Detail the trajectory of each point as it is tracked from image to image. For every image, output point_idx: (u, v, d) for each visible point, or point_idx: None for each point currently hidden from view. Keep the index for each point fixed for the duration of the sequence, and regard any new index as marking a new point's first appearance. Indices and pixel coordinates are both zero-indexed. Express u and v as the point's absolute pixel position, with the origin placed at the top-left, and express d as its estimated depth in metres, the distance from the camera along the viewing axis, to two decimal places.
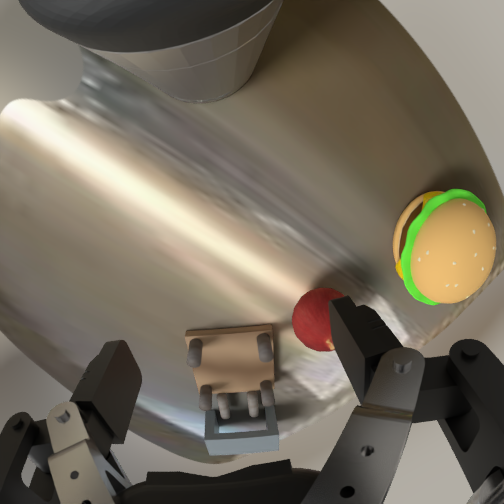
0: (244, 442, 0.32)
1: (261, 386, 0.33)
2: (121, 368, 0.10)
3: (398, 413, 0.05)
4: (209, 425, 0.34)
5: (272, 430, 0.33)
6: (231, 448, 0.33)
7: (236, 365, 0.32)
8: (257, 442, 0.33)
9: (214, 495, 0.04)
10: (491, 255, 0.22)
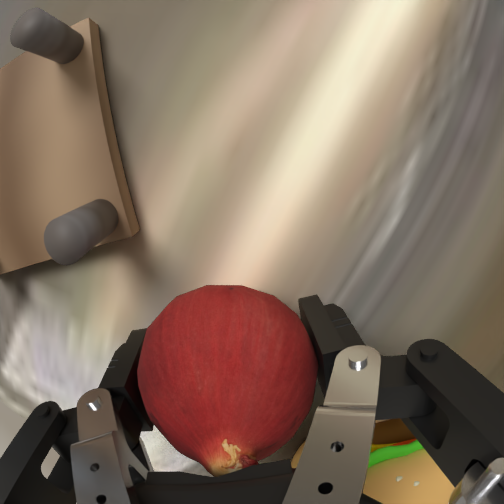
0: None
1: None
2: None
3: (361, 407, 0.05)
4: None
5: None
6: None
7: (16, 168, 0.09)
8: None
9: (214, 495, 0.04)
10: None
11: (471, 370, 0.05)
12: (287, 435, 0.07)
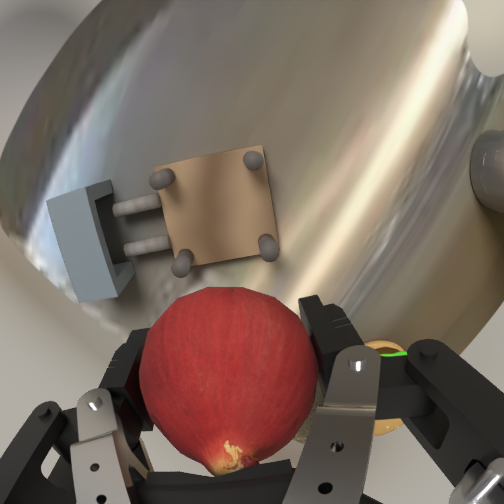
0: (90, 250, 0.22)
1: (187, 252, 0.26)
2: None
3: (361, 408, 0.05)
4: (99, 189, 0.22)
5: (118, 284, 0.23)
6: (71, 231, 0.21)
7: (218, 213, 0.25)
8: (93, 269, 0.22)
9: (214, 495, 0.04)
10: (394, 428, 0.26)
11: (471, 370, 0.05)
12: (288, 436, 0.07)
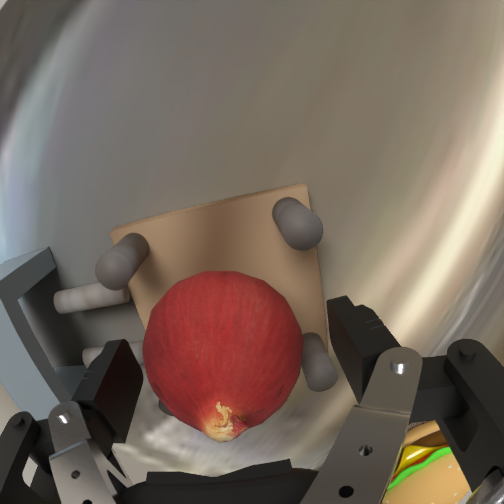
0: (28, 376, 0.11)
1: None
2: (123, 367, 0.10)
3: (396, 412, 0.05)
4: (26, 275, 0.12)
5: None
6: None
7: None
8: (41, 400, 0.11)
9: (214, 495, 0.04)
10: None
11: None
12: (274, 403, 0.09)
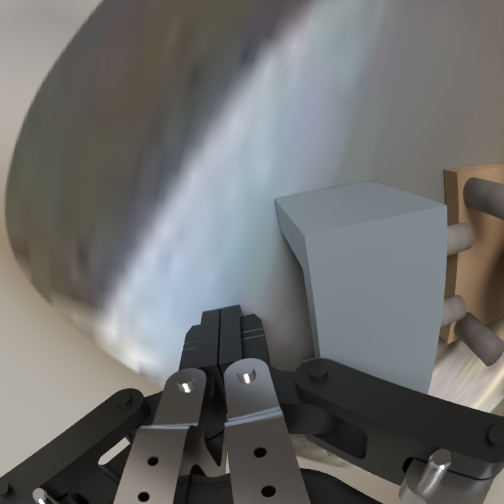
0: (410, 359, 0.08)
1: (477, 319, 0.12)
2: None
3: (267, 413, 0.06)
4: None
5: None
6: (378, 325, 0.08)
7: None
8: None
9: (214, 495, 0.04)
10: None
11: (370, 379, 0.06)
12: None
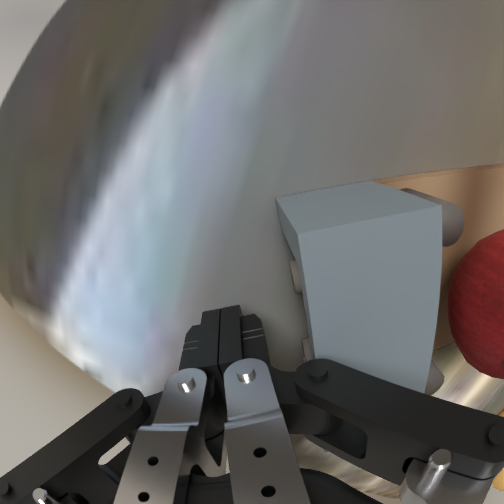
0: (405, 358, 0.08)
1: None
2: None
3: (267, 412, 0.06)
4: None
5: None
6: (372, 323, 0.08)
7: None
8: None
9: (214, 495, 0.04)
10: None
11: (370, 378, 0.06)
12: None
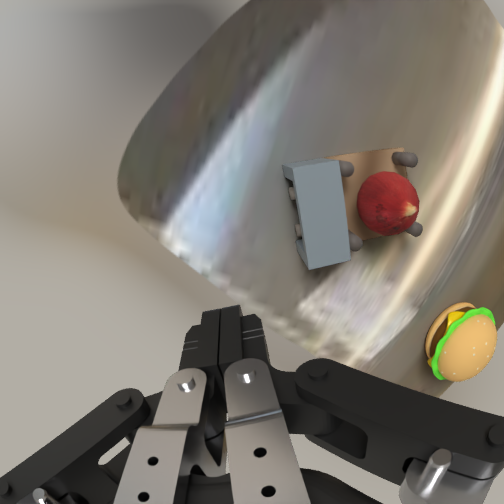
0: (334, 217, 0.26)
1: (350, 231, 0.30)
2: None
3: (267, 413, 0.06)
4: None
5: None
6: (318, 199, 0.25)
7: None
8: (334, 235, 0.26)
9: (214, 495, 0.04)
10: (480, 370, 0.31)
11: (370, 378, 0.06)
12: (417, 211, 0.23)
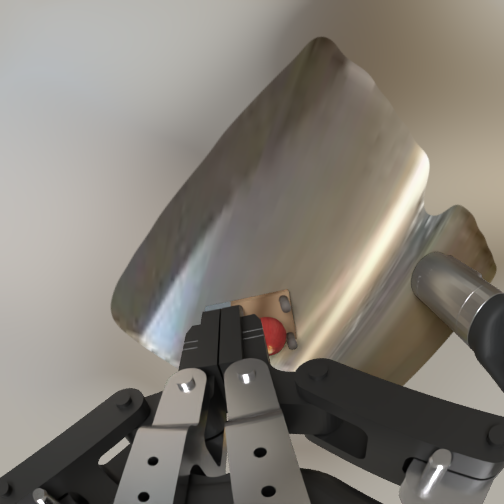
0: None
1: None
2: None
3: (267, 412, 0.06)
4: None
5: None
6: None
7: None
8: None
9: (214, 495, 0.04)
10: None
11: (370, 379, 0.06)
12: (279, 346, 0.42)
